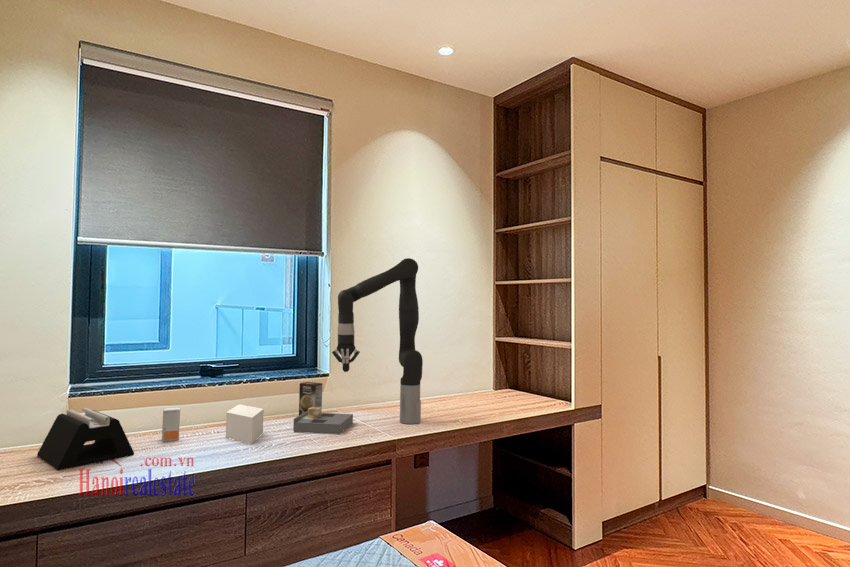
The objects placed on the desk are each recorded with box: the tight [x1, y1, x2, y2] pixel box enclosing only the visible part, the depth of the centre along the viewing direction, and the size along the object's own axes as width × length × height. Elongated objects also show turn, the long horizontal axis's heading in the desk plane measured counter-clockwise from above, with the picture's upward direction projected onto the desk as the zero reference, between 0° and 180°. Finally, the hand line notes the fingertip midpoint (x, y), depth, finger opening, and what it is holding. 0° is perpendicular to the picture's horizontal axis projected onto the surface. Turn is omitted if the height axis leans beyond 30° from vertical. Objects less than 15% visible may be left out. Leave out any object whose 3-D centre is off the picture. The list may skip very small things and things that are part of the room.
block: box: [308, 406, 323, 419], centre depth 223 cm, size 4×4×4 cm
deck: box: [292, 411, 354, 435], centre depth 222 cm, size 20×20×6 cm
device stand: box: [36, 407, 135, 471], centre depth 177 cm, size 22×22×15 cm
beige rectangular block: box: [225, 403, 265, 445], centre depth 206 cm, size 14×29×10 cm, turn 29°
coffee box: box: [298, 381, 323, 416], centre depth 241 cm, size 9×6×16 cm
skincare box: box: [161, 407, 181, 442], centre depth 199 cm, size 6×4×12 cm
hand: (346, 371), depth 231 cm, fingers closed
